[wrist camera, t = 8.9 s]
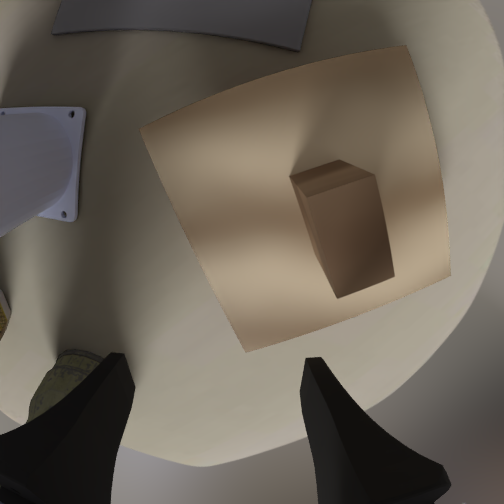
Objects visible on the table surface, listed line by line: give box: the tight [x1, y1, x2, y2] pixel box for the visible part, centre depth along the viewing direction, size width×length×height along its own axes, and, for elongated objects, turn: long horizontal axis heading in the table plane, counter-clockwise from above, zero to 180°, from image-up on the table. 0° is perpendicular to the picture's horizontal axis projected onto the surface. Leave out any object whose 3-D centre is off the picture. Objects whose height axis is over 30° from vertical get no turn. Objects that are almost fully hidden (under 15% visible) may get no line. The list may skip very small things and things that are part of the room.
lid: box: [139, 45, 451, 352], centre depth 12 cm, size 13×13×5 cm
